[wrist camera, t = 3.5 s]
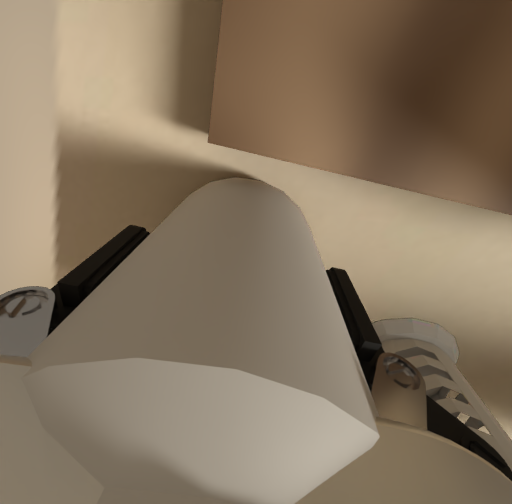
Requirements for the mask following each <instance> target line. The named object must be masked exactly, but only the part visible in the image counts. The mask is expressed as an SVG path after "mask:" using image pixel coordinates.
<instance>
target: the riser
mask: <svg viewBox="0 0 512 504" xmlns="http://www.w3.org/2000/svg"><path fill="white" fill-rule="evenodd" d="M208 143H212V144H216V145H220V146H225V147H229V148H233V149H237V150H241V151H245V152H250V153H254V154H258V155H262V156H266V157H271V158H275V159H279V160H283V161H287V162H292V163H296V164H300V165H304V166H308V167H312V168H317V169H321V170H325V171H329V172H333V173H338V174H342V175H346V176H350V177H354V178H359V179H363V180H367V181H371V182H375V183H379V184H384V185H388V186H392V187H396V188H400V189H405V190H409V191H413V192H417V193H421V194H426V195H430V196H434V197H438V198H442V199H447V200H451V201H455V202H459V203H463V204H467V205H472V206H476V207H480V208H484V209H488V210H493V211H497V212H501V213H505V214H509V215H512V0H223V3H222V13H221V22H220V31H219V41H218V50H217V60H216V69H215V79H214V88H213V98H212V107H211V117H210V126H209V136H208Z"/></svg>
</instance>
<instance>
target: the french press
mask: <svg viewBox="0 0 512 504" xmlns="http://www.w3.org/2000/svg"><path fill="white" fill-rule="evenodd" d="M372 325H373V327H374V329H375V331H376V333H377V335H378V337H379V339H380V341H381V343H382V348H383V350H384V352H385V353H387V352H390V353H394V354H397V355H399V356H401V357H403V358H405V359H406V360H408V361H409V362H410V363H411V364H412V365H414V366H415V367H416V368H417V370H418V371H419V372H420V373H421V375H422V377H423V379H424V380H425V384H426V395H428V396H429V397H430V398H432V399H433V400H434V401H435V402H437V403H438V404H439V405H440V406H442V407H443V408H444V409H446V410H447V411H448V412H449V413H451V414H452V415H453V416H454V417H456V418H457V416H458V415H459V414H460V412H461V413H464V414H466V415H469V416H470V417H469V419H468V420H467V421H466V423H465V425H466V426H467V427H469V428H470V429H471V430H472V431H474V432H475V433H476V434H477V435H479V436H480V437H481V438H483V439H484V440H485V441H486V442H487V443H489V444H490V445H491V446H492V447H493V448H494V449H495V450H496V451H497V452H498V453H499V454H500V455H501V457H502V458H503V459H504V460H505V462H506V463H507V464H508V466H509V467H510V469H511V471H512V440H511V439H510V438H509V436H508V435H507V434H506V432H505V431H504V430H503V428H502V427H501V426H500V424H499V423H498V422H497V420H496V419H495V418H494V416H493V415H492V414H491V412H490V411H489V410H488V408H487V407H486V406H485V404H484V403H483V402H482V400H481V399H480V398H479V396H478V395H477V393H476V392H475V391H474V389H473V388H472V387H471V385H470V384H469V383H468V381H467V380H466V379H465V377H464V376H463V375H462V373H461V372H460V371H459V369H458V368H457V367H456V362H457V359H458V356H459V350H458V347H457V343H456V340H455V337H454V336H453V335H451V334H450V333H449V332H448V331H446V330H445V329H444V328H442V327H441V326H440V325H438V324H435V323H431V322H426V321H422V320H418V319H414V318H405V319H390V320H380V321H377V322H374V323H372ZM450 389H451V390H453V391H456V392H458V393H460V394H459V395H458V396H457V397H456V398H455V399H453V398H451V397H448V398H445V397H446V396H447V394H448V393H449V391H450ZM468 403H469V404H470V405H469V404H468ZM482 426H485V427H486V428H487V430H488V431H489V433H490V434H491V435H489V434H487V433H484V432H482V431H479V430H478V429H479V428H480V427H482Z"/></svg>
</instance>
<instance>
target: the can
mask: <svg viewBox="0 0 512 504" xmlns="http://www.w3.org/2000/svg"><path fill="white" fill-rule="evenodd" d="M27 358H29V359H30V360H31V362H32V367H31V369H30V370H29V371H28V372H27V373H26V374H25V375H24V376H23V377H22V380H23V383H24V385H25V387H26V390H27V392H28V394H29V396H30V399H31V401H32V403H33V406H34V408H35V410H36V413H37V415H38V417H39V420H40V422H41V424H42V427H43V428H44V429H45V430H46V431H47V432H48V433H49V434H50V435H51V436H52V437H53V438H54V439H55V440H56V441H57V442H58V443H59V444H60V445H61V446H62V447H63V448H64V449H65V450H66V451H67V452H68V453H69V454H70V455H71V456H72V457H73V458H74V459H75V460H77V461H78V462H79V463H80V464H81V465H82V466H83V467H84V468H85V469H86V470H87V471H88V472H89V473H90V474H91V475H92V476H93V477H94V478H95V479H96V480H97V481H98V482H99V483H100V484H101V485H102V486H103V487H104V490H103V492H102V494H101V496H100V498H99V500H98V502H97V504H294V503H296V502H297V501H299V500H300V499H301V498H303V497H304V496H306V495H307V494H308V493H310V492H311V491H312V490H314V489H315V488H316V487H318V486H319V485H320V484H322V483H323V482H325V481H326V480H327V479H329V478H330V477H331V476H333V475H334V474H335V473H337V472H338V471H340V470H341V469H342V468H344V467H345V466H347V465H348V464H350V463H351V462H352V461H354V460H355V459H357V458H358V457H359V456H361V455H362V454H364V453H365V452H367V451H368V450H369V449H371V448H372V447H373V446H374V445H375V443H376V442H377V440H378V439H379V437H380V436H379V433H378V430H377V427H376V424H375V418H376V417H379V414H378V412H377V409H376V406H375V403H374V401H373V398H372V395H371V393H370V390H369V387H368V384H367V382H366V379H365V376H364V374H363V371H362V368H361V365H360V363H359V360H358V357H357V355H356V352H355V349H354V346H353V344H352V341H351V338H350V335H349V333H348V330H347V327H346V325H345V322H344V319H343V316H342V314H341V311H340V308H339V306H338V303H337V300H336V297H335V295H334V292H333V289H332V287H331V284H330V281H329V278H328V276H327V273H326V270H325V268H324V265H323V262H322V259H321V257H320V254H319V251H318V249H317V246H316V243H315V240H314V238H313V235H312V232H311V230H310V227H309V225H308V223H307V221H306V219H305V217H304V215H303V213H302V211H301V209H300V207H299V206H298V205H296V204H295V203H294V202H293V201H292V200H291V199H290V198H289V197H288V196H287V195H286V194H285V193H284V192H283V191H281V190H279V189H277V188H275V187H273V186H271V185H269V184H267V183H265V182H263V181H260V180H253V179H245V178H238V177H233V178H228V179H223V180H218V181H213V182H209V183H208V184H206V185H204V186H203V187H201V188H199V189H198V190H196V191H194V192H193V193H191V194H190V195H189V196H188V197H187V198H186V199H185V200H184V201H183V202H182V203H181V204H180V205H179V206H178V207H177V208H176V209H175V210H174V211H173V212H172V213H171V214H170V215H169V216H168V217H167V218H166V219H165V220H164V221H163V222H162V223H161V224H160V225H159V226H158V227H157V228H156V229H155V230H154V231H153V232H152V233H151V234H150V235H149V236H148V237H147V238H146V239H145V240H144V241H143V242H142V243H141V244H140V245H139V246H138V247H137V248H136V249H135V250H134V251H133V252H132V253H131V254H130V255H129V256H128V257H127V258H126V259H125V260H124V261H123V262H122V263H121V264H120V265H119V266H118V267H117V268H116V269H115V270H114V271H113V272H112V273H111V274H110V275H109V276H108V277H107V278H106V279H105V280H104V281H103V282H102V283H101V284H100V285H99V286H98V287H97V288H96V289H95V290H94V291H93V292H92V293H91V294H90V295H89V296H88V297H87V298H86V299H85V300H84V301H83V302H82V303H81V304H80V305H79V306H78V307H77V308H76V309H75V310H74V311H73V312H72V313H71V314H70V315H69V316H68V317H67V318H66V319H65V320H64V321H63V322H62V323H61V324H60V325H59V326H58V327H57V328H56V329H55V330H54V331H53V332H52V333H51V334H50V335H49V336H48V337H47V338H46V339H45V340H44V341H43V342H42V343H41V344H40V345H39V346H38V347H37V348H36V349H35V350H34V351H33V352H32V353H31V354H30V355H29V356H28V357H27Z"/></svg>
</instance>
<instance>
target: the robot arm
mask: <svg viewBox="0 0 512 504" xmlns="http://www.w3.org/2000/svg"><path fill="white" fill-rule="evenodd" d="M149 235H150V233H149V232H146V229H145V228H143V227H138V226H133V225H129V226H128V227H127V228H125V229H124V230H123V231H121V232H120V233H119V234H118V235H116V236H115V237H114V238H113V239H111V240H110V241H109V242H108V243H106V244H105V245H104V246H103V247H101V248H100V249H99V250H98V251H96V252H95V253H94V254H93V255H91V256H90V257H89V258H87V259H86V260H85V261H84V262H82V263H81V264H80V265H79V266H77V267H76V268H75V269H74V270H72V271H71V272H70V273H69V274H67V275H66V276H65V277H64V278H62V279H61V280H60V281H58V282H57V283H58V284H56V285H55V286H54V287H53V288H51V289H48V288H46V287H39V286H31V287H23V288H18V289H15V290H12V291H8V292H6V293H4V294H2V295H0V504H97V502H98V500H99V498H100V496H101V494H102V492H103V490H104V487H103V486H102V485H101V484H100V483H99V482H98V481H97V480H96V479H95V478H94V477H93V476H92V475H91V474H90V473H89V472H88V471H87V470H86V469H85V468H84V467H83V466H82V465H81V464H80V463H79V462H78V461H77V460H75V459H74V458H73V457H72V456H71V455H70V454H69V453H68V452H67V451H66V450H65V449H64V448H63V447H62V446H61V445H60V444H59V443H58V442H57V441H56V440H55V439H54V438H53V437H52V436H51V435H50V434H49V433H48V432H47V431H46V430H45V429H44V428H43V427H42V424H41V422H40V420H39V417H38V415H37V413H36V410H35V408H34V406H33V403H32V401H31V399H30V396H29V394H28V392H27V390H26V387H25V385H24V383H23V380H22V377H23V376H24V375H25V374H26V373H27V372H28V371H29V370H30V369H31V367H32V362H31V360H30V359H29V358H27V357H28V356H29V355H30V354H31V353H32V352H33V351H34V350H35V349H36V348H37V347H38V346H39V345H40V344H41V343H42V342H43V341H44V340H45V339H46V338H47V337H48V336H49V335H50V334H51V333H52V332H53V331H54V330H55V329H56V328H57V327H58V326H59V325H60V324H61V323H62V322H63V321H64V320H65V319H66V318H67V317H68V316H69V315H70V314H71V313H72V312H73V311H74V310H75V309H76V308H77V307H78V306H79V305H80V304H81V303H82V302H83V301H84V300H85V299H86V298H87V297H88V296H89V295H90V294H91V293H92V292H93V291H94V290H95V289H96V288H97V287H98V286H99V285H100V284H101V283H102V282H103V281H104V280H105V279H106V278H107V277H108V276H109V275H110V274H111V273H112V272H113V271H114V270H115V269H116V268H117V267H118V266H119V265H120V264H121V263H122V262H123V261H124V260H125V259H126V258H127V257H128V256H129V255H130V254H131V253H132V252H133V251H134V250H135V249H136V248H137V247H138V246H139V245H140V244H141V243H142V242H143V241H144V240H145V239H146V238H147V237H148V236H149ZM326 273H327V276H328V278H329V281H330V284H331V287H332V289H333V292H334V295H335V297H336V300H337V303H338V306H339V308H340V311H341V314H342V316H343V319H344V322H345V325H346V327H347V330H348V333H349V335H350V338H351V341H352V344H353V346H354V349H355V352H356V355H357V357H358V360H359V363H360V365H361V368H362V371H363V374H364V376H365V379H366V382H367V384H368V387H369V390H370V393H371V395H372V398H373V401H374V403H375V406H376V409H377V412H378V414H379V417H376V418H375V424H376V427H377V430H378V433H379V436H380V437H379V439H378V440H377V442H376V443H375V445H374V446H373V447H372V448H371V449H369V450H368V451H367V452H365V453H364V454H362V455H361V456H359V457H358V458H357V459H355V460H354V461H352V462H351V463H350V464H348V465H347V466H345V467H344V468H342V469H341V470H340V471H338V472H337V473H335V474H334V475H333V476H331V477H330V478H329V479H327V480H326V481H325V482H323V483H322V484H320V485H319V486H318V487H316V488H315V489H314V490H312V491H311V492H310V493H308V494H307V495H306V496H304V497H303V498H301V499H300V500H299V501H297V502H296V503H294V504H512V471H511V469H510V467H509V466H508V464H507V463H506V462H505V460H504V459H503V458H502V457H501V455H500V454H499V453H498V452H497V451H496V450H495V449H494V448H493V447H492V446H491V445H490V444H489V443H487V442H486V441H485V440H484V439H483V438H481V437H480V436H479V435H477V434H476V433H475V432H474V431H472V430H471V429H470V428H469V427H467V426H466V425H465V424H463V423H462V422H461V421H460V420H458V419H457V418H456V417H454V416H453V415H452V414H451V413H449V412H448V411H447V410H446V409H444V408H443V407H442V406H440V405H439V404H438V403H437V402H435V401H434V400H433V399H432V398H430V397H429V396H428V395H426V384H425V380H424V379H423V377H422V375H421V373H420V372H419V371H418V370H417V368H416V367H415V366H414V365H412V364H411V363H410V362H409V361H408V360H406V359H405V358H403V357H401V356H399V355H397V354H394V353H390V352H387V353H385V352H384V350H383V348H382V343H381V341H380V339H379V337H378V335H377V333H376V331H375V329H374V327H373V325H372V323H371V321H370V319H369V317H368V315H367V313H366V311H365V309H364V307H363V305H362V303H361V301H360V299H359V297H358V295H357V293H356V291H355V289H354V287H353V285H352V283H351V280H350V278H349V276H348V274H347V272H346V271H345V270H342V269H338V268H333V267H332V268H331V269H330V270H326Z"/></svg>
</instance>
